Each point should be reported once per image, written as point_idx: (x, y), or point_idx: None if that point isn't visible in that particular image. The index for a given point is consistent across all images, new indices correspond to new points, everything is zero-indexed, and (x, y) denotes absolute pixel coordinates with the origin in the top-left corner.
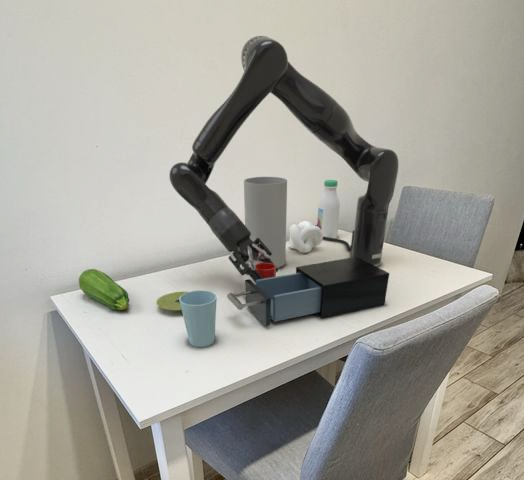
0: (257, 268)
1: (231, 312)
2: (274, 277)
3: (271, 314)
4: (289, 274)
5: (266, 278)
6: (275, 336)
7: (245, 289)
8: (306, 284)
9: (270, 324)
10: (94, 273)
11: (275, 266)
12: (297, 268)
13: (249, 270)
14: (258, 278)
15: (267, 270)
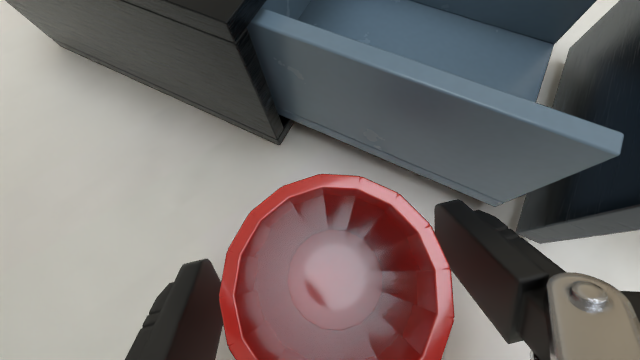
0: (453, 308)
1: (615, 274)
2: (453, 80)
3: (544, 62)
4: (326, 43)
5: (518, 111)
6: (577, 22)
7: (632, 228)
8: None
9: (573, 46)
10: None
11: (279, 193)
12: (242, 11)
13: (634, 301)
14: (494, 226)
15: (400, 198)
